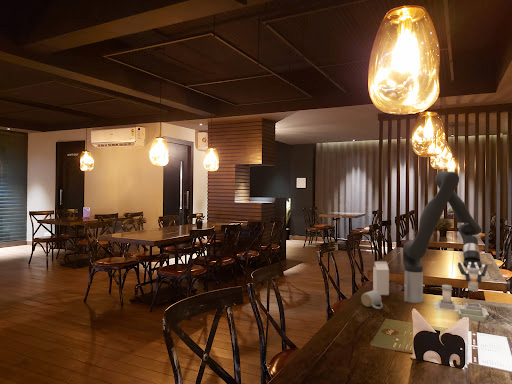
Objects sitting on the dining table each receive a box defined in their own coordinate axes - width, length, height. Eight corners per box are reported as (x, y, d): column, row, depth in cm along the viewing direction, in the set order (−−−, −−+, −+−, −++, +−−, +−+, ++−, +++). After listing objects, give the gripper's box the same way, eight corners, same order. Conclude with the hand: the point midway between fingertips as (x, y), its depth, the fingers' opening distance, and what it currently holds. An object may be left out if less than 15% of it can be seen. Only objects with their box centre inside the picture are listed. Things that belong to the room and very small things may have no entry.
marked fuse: (468, 290, 188) (469, 268, 188) (467, 288, 192) (468, 267, 192) (478, 291, 187) (479, 269, 186) (477, 289, 191) (478, 268, 190)
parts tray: (459, 320, 177) (459, 314, 177) (457, 314, 186) (457, 308, 186) (486, 324, 173) (486, 317, 173) (483, 317, 182) (483, 310, 181)
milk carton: (388, 295, 218) (389, 262, 218) (376, 295, 218) (376, 262, 218) (385, 291, 225) (385, 260, 225) (373, 291, 226) (373, 260, 225)
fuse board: (434, 310, 191) (434, 303, 191) (433, 303, 202) (433, 297, 202) (489, 317, 182) (489, 310, 182) (485, 309, 193) (485, 303, 193)
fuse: (442, 307, 193) (442, 286, 193) (441, 305, 197) (441, 284, 197) (451, 308, 192) (452, 287, 191) (451, 306, 196) (451, 285, 195)
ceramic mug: (359, 305, 201) (360, 290, 200) (370, 302, 205) (370, 288, 205) (375, 311, 192) (376, 296, 191) (386, 308, 196) (386, 293, 196)
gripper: (456, 248, 199) (458, 276, 188) (488, 250, 193) (491, 279, 182) (455, 256, 204) (457, 284, 193) (486, 259, 198) (489, 287, 187)
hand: (473, 281), depth 188 cm, fingers closed on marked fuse, 4 cm apart
